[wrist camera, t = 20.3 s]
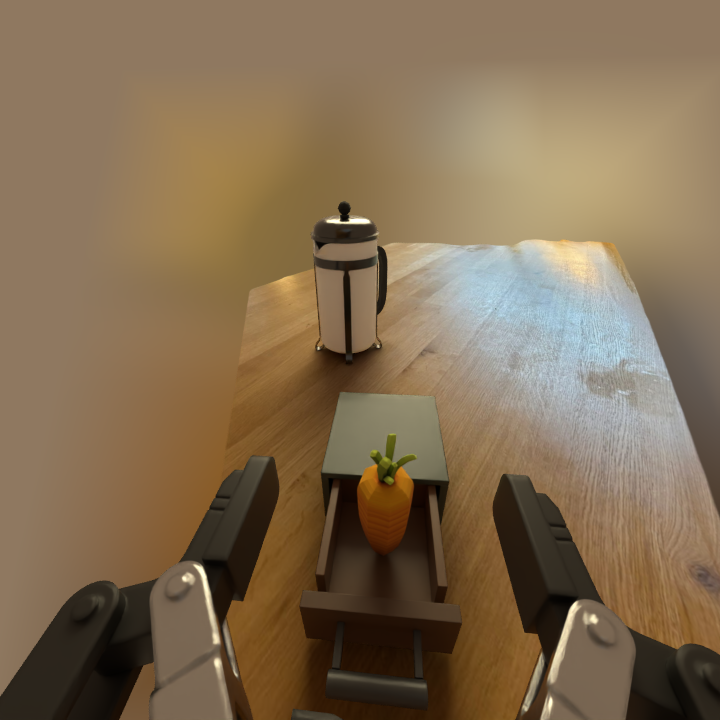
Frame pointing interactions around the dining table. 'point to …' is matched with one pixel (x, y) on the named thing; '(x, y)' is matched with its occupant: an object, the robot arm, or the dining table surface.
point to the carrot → (385, 499)
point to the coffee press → (348, 281)
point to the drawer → (381, 597)
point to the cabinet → (385, 439)
